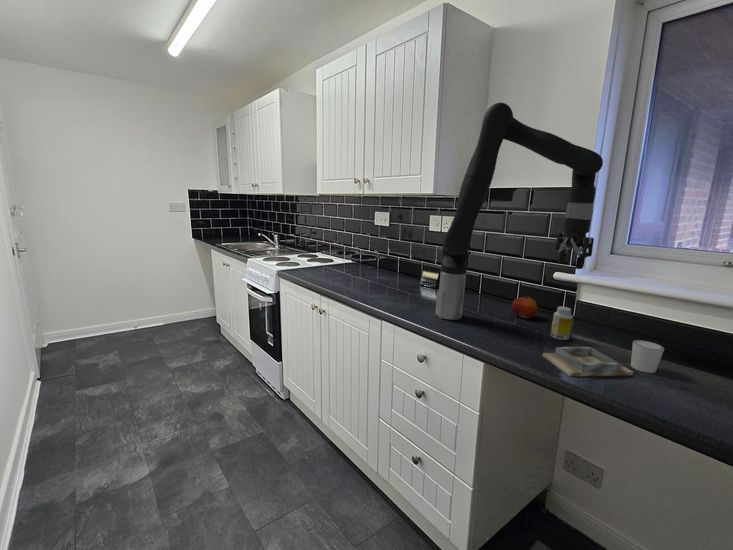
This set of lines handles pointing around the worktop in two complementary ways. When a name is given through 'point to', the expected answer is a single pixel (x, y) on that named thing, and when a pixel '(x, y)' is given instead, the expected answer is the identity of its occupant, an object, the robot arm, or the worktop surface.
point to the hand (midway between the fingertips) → (569, 266)
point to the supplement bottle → (562, 323)
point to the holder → (585, 362)
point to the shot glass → (646, 356)
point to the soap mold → (539, 546)
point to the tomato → (524, 307)
